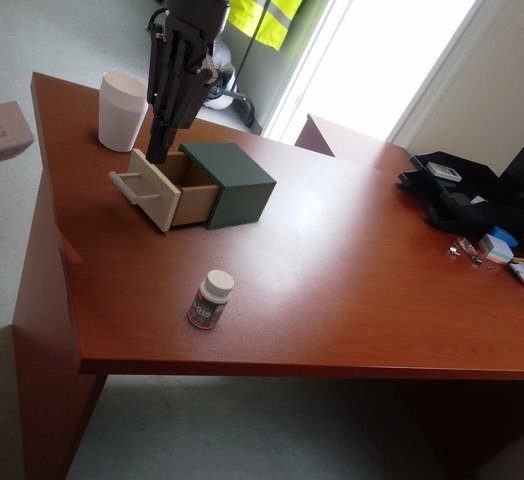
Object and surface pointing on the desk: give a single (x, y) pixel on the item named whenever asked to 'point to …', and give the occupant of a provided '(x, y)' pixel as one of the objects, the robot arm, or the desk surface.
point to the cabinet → (232, 182)
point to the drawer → (169, 189)
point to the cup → (121, 110)
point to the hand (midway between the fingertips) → (155, 161)
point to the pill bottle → (211, 299)
